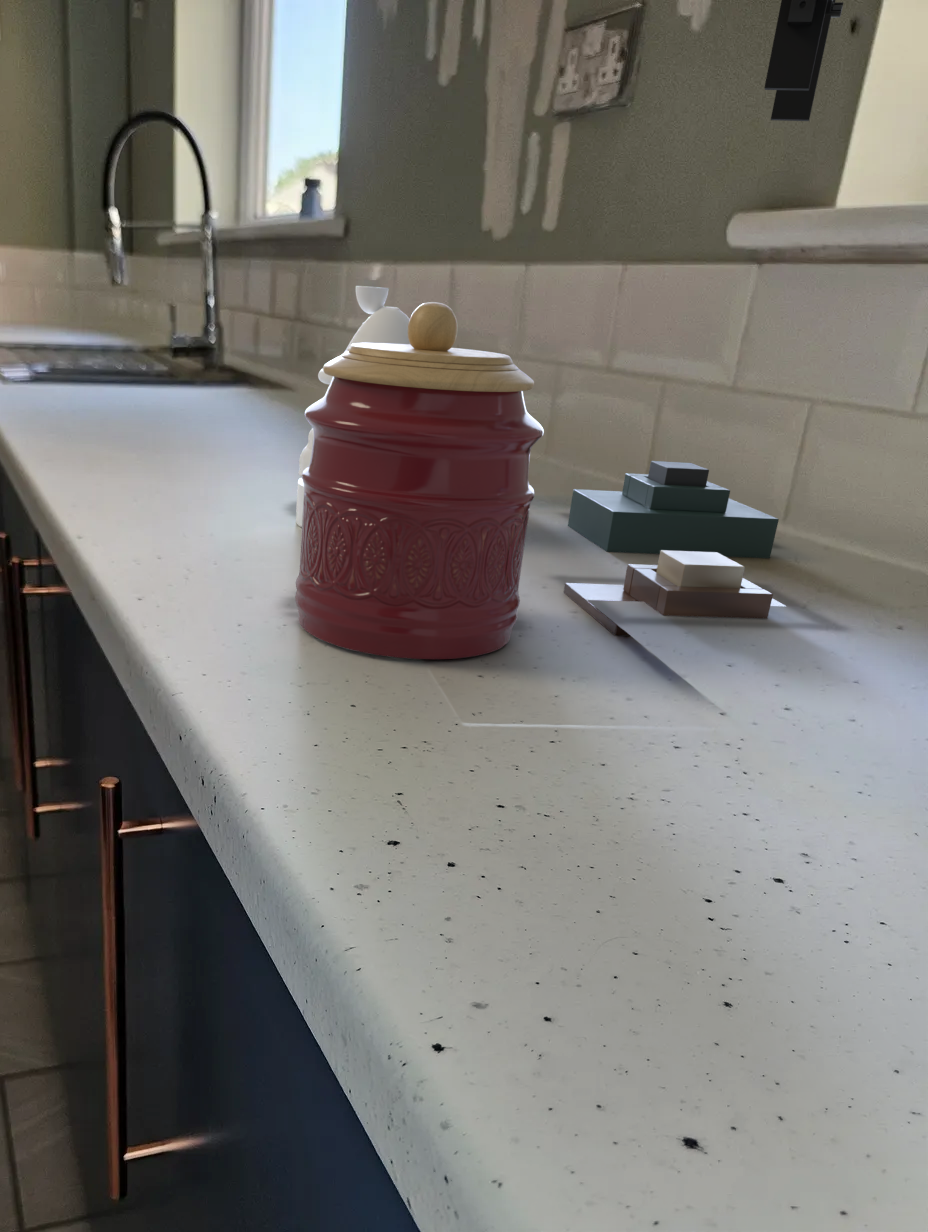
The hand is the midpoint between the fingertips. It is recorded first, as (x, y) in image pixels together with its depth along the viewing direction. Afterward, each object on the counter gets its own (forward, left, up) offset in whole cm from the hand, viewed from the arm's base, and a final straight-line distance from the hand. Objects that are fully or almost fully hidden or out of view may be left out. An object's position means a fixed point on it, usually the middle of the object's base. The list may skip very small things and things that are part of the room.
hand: (788, 106), depth 78 cm
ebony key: (+1, -5, -27) cm, 27 cm away
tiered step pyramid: (+1, -5, -31) cm, 32 cm away
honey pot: (+26, -6, -31) cm, 41 cm away
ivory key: (+9, +19, -29) cm, 36 cm away
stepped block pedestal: (+9, +19, -31) cm, 37 cm away
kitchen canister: (+29, +24, -31) cm, 49 cm away
